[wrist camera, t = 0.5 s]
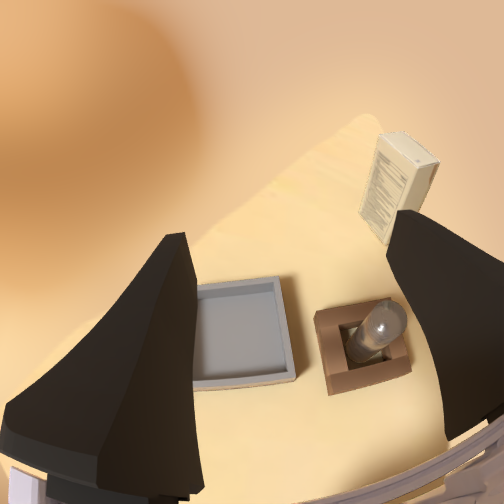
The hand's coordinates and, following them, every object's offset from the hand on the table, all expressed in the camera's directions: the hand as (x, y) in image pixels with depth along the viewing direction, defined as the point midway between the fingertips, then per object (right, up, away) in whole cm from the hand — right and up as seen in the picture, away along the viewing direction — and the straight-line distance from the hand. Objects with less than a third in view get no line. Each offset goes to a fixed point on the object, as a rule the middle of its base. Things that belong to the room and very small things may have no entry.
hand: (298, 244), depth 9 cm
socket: (+9, -10, +16) cm, 21 cm away
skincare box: (+15, +3, +25) cm, 30 cm away
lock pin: (+9, -10, +16) cm, 21 cm away
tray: (-3, -9, +18) cm, 20 cm away
